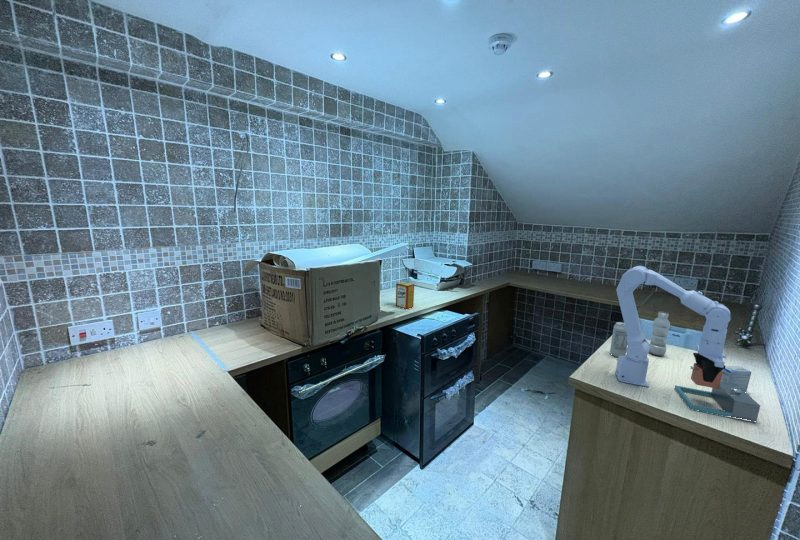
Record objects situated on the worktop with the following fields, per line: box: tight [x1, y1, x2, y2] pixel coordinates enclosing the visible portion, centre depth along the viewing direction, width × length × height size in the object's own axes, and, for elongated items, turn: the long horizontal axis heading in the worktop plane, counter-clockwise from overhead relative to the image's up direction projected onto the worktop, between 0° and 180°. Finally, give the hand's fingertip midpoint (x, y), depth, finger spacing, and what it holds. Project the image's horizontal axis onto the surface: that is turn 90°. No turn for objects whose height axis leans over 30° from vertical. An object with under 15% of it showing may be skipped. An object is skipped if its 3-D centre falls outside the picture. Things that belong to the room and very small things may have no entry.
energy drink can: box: [609, 321, 628, 358], centre depth 148 cm, size 6×6×15 cm
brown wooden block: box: [690, 362, 723, 389], centre depth 113 cm, size 7×4×6 cm, turn 67°
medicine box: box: [721, 365, 752, 393], centre depth 122 cm, size 8×4×9 cm, turn 92°
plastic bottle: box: [649, 311, 672, 357], centre depth 151 cm, size 6×7×20 cm
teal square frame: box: [674, 382, 761, 422], centre depth 112 cm, size 16×14×7 cm
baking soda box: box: [395, 281, 415, 310], centre depth 212 cm, size 10×6×16 cm
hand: (704, 378), depth 113 cm, fingers closed on brown wooden block, 4 cm apart
